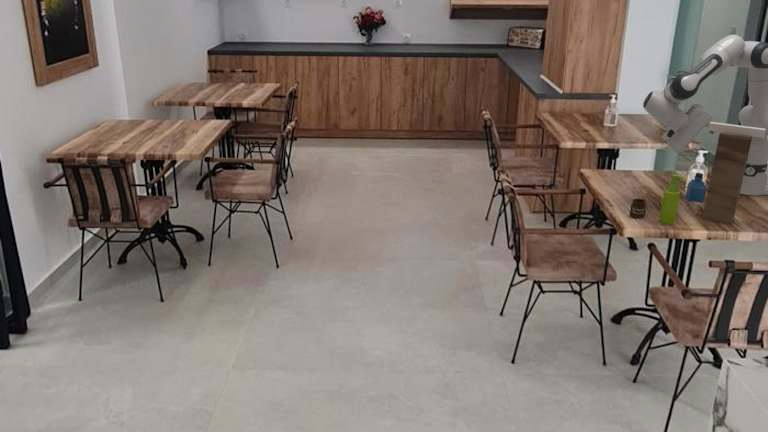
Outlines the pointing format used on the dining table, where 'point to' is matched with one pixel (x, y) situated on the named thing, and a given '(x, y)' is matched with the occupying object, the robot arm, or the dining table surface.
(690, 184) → the perfume bottle
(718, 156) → the stand
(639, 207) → the utensil holder
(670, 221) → the soap dispenser
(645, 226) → the dining table surface
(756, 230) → the dining table surface
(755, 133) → the rod
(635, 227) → the dining table surface
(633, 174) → the dining table surface
